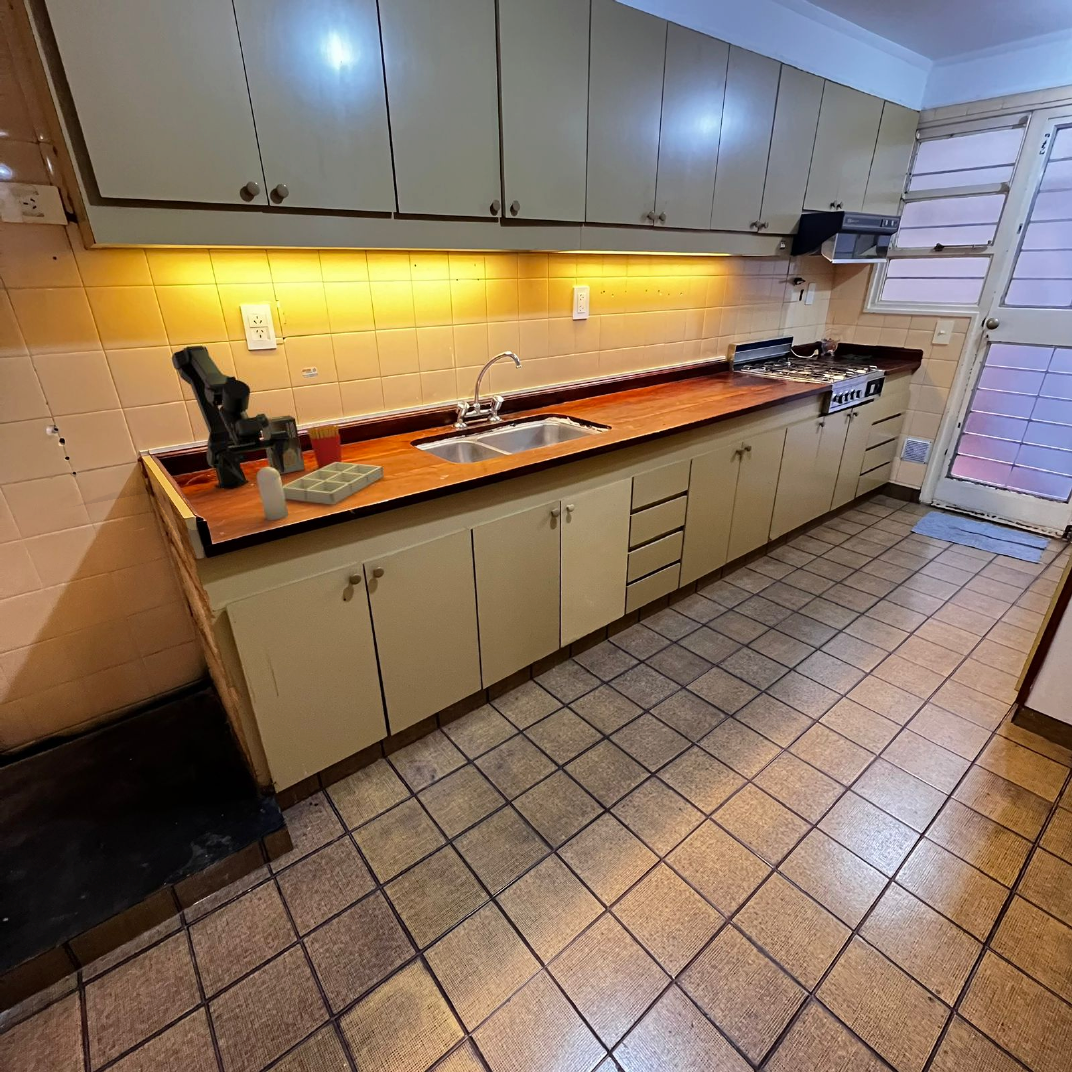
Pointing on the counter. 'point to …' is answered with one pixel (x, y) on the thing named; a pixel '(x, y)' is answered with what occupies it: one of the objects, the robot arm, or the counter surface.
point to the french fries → (325, 444)
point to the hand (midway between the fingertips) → (264, 475)
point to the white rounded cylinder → (272, 493)
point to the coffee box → (294, 453)
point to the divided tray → (332, 482)
